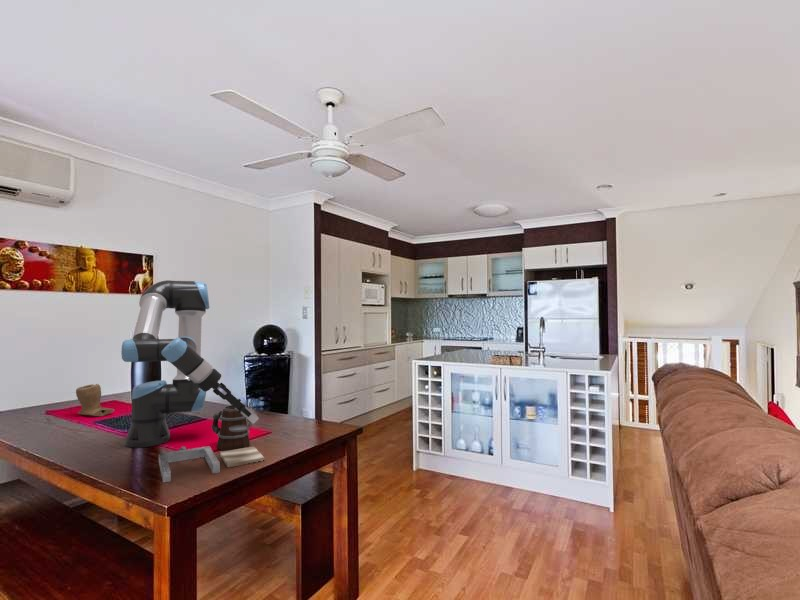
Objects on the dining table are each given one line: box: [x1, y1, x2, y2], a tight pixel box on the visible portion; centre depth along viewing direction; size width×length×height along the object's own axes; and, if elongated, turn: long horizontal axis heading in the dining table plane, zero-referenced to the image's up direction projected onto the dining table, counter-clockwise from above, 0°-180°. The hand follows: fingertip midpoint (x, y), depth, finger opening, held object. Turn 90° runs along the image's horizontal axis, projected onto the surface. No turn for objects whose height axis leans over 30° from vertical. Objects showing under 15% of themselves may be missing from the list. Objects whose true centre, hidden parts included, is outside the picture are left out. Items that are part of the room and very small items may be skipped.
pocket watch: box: [229, 400, 253, 432], centre depth 149 cm, size 8×8×10 cm
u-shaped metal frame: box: [158, 445, 221, 484], centre depth 144 cm, size 26×16×3 cm, turn 33°
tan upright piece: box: [75, 383, 115, 417], centre depth 208 cm, size 15×12×15 cm
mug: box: [211, 404, 250, 452], centre depth 164 cm, size 16×12×15 cm
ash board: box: [219, 446, 265, 468], centre depth 150 cm, size 14×12×1 cm
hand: (253, 418), depth 151 cm, fingers closed on pocket watch, 7 cm apart
